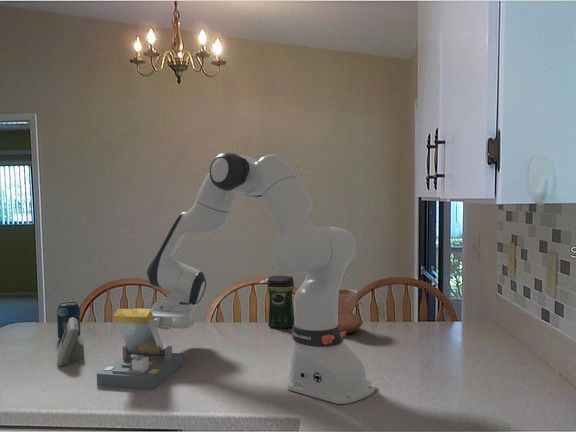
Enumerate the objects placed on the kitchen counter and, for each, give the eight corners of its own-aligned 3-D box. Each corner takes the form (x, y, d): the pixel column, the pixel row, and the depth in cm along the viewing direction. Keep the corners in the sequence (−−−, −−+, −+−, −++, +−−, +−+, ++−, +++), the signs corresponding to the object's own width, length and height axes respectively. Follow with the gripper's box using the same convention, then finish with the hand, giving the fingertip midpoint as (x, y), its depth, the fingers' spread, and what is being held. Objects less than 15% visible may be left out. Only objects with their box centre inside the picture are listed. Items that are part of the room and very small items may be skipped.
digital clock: (59, 351, 144) (58, 317, 144) (90, 348, 147) (89, 315, 146) (45, 369, 129) (44, 331, 128) (81, 366, 131) (80, 328, 131)
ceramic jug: (367, 327, 167) (366, 288, 167) (361, 338, 154) (360, 295, 154) (319, 325, 173) (318, 286, 173) (308, 335, 159) (307, 293, 159)
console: (133, 361, 134) (133, 338, 134) (182, 363, 132) (181, 341, 131) (96, 385, 117) (96, 359, 116) (152, 389, 114) (152, 363, 114)
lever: (133, 349, 129) (116, 308, 121) (166, 351, 128) (152, 309, 119) (129, 357, 127) (111, 315, 119) (163, 358, 125) (148, 317, 117)
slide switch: (137, 368, 120) (137, 354, 120) (148, 368, 119) (148, 355, 119) (132, 372, 117) (131, 358, 117) (143, 373, 116) (142, 359, 116)
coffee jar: (296, 324, 173) (296, 274, 173) (291, 329, 166) (290, 277, 165) (271, 322, 176) (271, 273, 175) (265, 328, 168) (264, 277, 168)
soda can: (65, 343, 152) (64, 306, 152) (53, 340, 156) (52, 304, 155) (84, 337, 158) (84, 302, 158) (72, 335, 162) (71, 300, 161)
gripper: (134, 301, 141) (108, 312, 127) (198, 304, 137) (178, 315, 123) (134, 322, 141) (108, 335, 127) (198, 325, 137) (179, 339, 124)
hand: (144, 325), depth 125 cm, fingers closed
